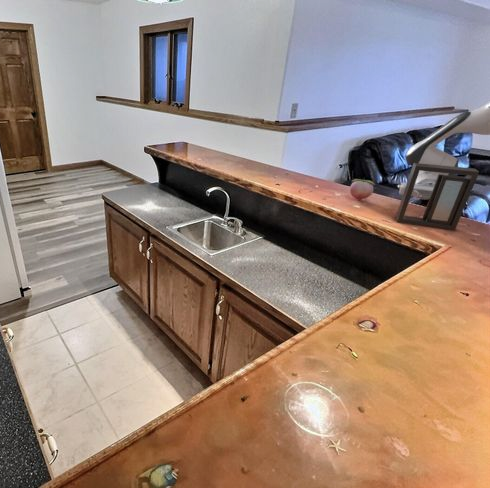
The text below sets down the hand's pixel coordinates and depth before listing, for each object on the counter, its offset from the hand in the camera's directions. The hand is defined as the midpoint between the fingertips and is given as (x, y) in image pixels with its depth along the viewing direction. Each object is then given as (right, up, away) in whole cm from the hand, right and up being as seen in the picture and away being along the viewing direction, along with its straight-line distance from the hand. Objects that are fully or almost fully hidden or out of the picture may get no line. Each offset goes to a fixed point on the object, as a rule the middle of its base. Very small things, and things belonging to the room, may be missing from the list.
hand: (433, 198), depth 129 cm
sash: (+1, -8, +2) cm, 8 cm away
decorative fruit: (-14, +3, +26) cm, 29 cm away
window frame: (-3, -10, +2) cm, 10 cm away
